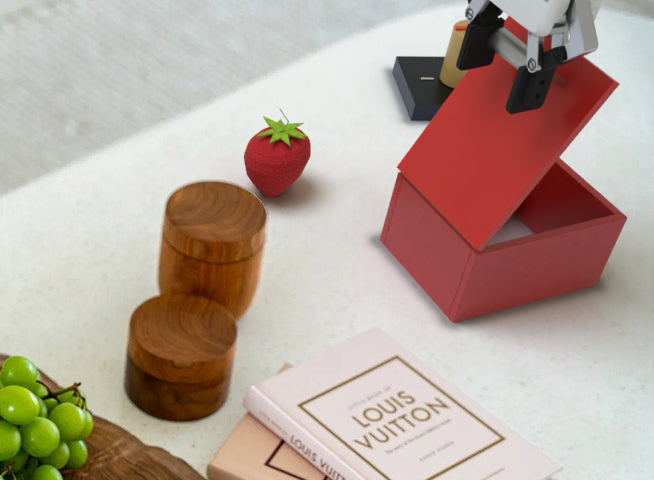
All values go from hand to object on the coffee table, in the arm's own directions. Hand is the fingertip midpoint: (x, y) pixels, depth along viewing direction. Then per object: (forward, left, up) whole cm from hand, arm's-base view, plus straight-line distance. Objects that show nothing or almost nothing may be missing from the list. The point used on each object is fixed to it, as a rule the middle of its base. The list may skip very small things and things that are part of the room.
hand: (498, 85), depth 93 cm
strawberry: (+14, -13, -21) cm, 28 cm away
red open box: (-5, -2, -21) cm, 22 cm away
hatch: (-2, -1, -5) cm, 5 cm away
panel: (-9, -31, -21) cm, 38 cm away
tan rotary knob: (-9, -31, -18) cm, 37 cm away
